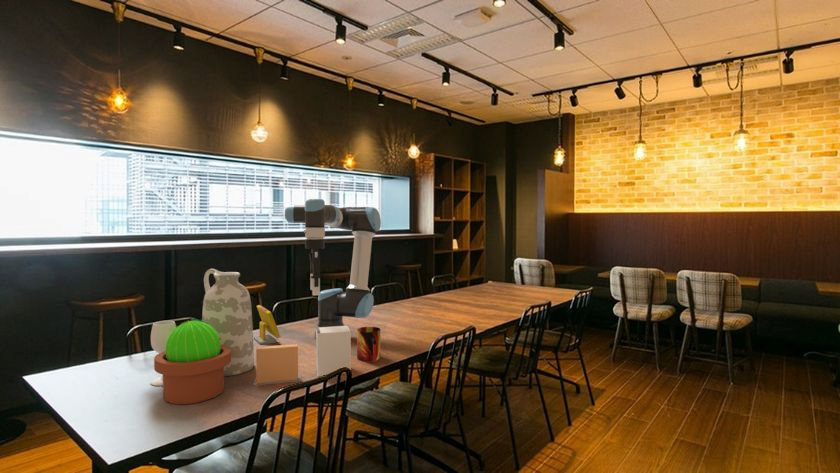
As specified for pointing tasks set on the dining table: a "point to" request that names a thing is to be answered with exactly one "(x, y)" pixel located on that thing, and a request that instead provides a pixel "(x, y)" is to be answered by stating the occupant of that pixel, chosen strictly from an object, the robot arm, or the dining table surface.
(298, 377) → the pad
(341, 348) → the white tall block
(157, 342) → the wineglass
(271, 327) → the toy computer monitor
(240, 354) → the vase
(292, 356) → the peach cardboard box
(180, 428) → the dining table surface
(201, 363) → the potted cactus
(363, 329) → the mug
